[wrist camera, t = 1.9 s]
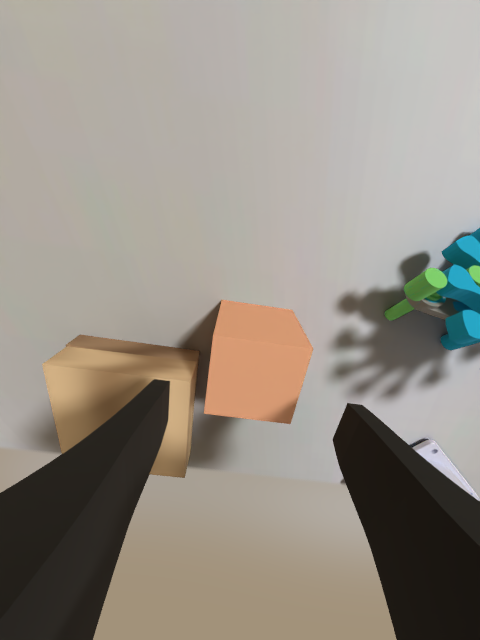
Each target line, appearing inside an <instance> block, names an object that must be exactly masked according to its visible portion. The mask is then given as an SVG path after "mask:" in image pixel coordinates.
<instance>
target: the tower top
mask: <svg viewBox="0 0 480 640" xmlns="http://www.w3.org/2000/svg"><path fill="white" fill-rule="evenodd" d="M42 365H43V370H44V375H45V379H46V384H47V388H48V393H49V397H50V402H51V406H52V411H53V415H54V420H55V425H56V429H57V434H58V438H59V443H60V447H61V452H62V454H63V453H65V452H66V451H67V450H69V449H70V448H72V447H73V446H75V445H76V444H77V443H79V442H80V441H81V440H83V439H84V438H85V437H87V436H88V435H89V434H91V433H92V432H93V431H95V430H96V429H97V428H98V427H100V426H101V425H102V424H103V423H105V422H106V421H107V420H109V419H110V418H111V417H112V416H113V415H115V414H116V413H117V412H118V411H119V410H120V409H121V408H123V407H124V406H125V405H126V404H127V403H128V402H130V401H131V400H132V399H133V398H134V397H135V396H136V395H137V394H138V393H139V392H141V391H142V390H143V389H144V388H145V387H146V386H147V385H148V384H149V383H150V382H151V381H153V380H154V379H158V380H166V381H170V394H169V416H168V423H167V427H166V430H165V434H164V437H163V440H162V444H161V447H160V449H159V452H158V454H157V457H156V459H155V462H154V464H153V466H152V469H151V471H150V474H153V475H162V476H172V477H182V478H184V477H185V474H186V469H187V465H188V461H189V456H190V452H191V438H192V424H193V410H194V396H195V382H196V368H197V362H195V361H187V360H178V359H170V358H161V357H153V356H145V355H136V354H128V353H119V352H111V351H102V350H94V349H86V348H77V347H69V346H67V347H65V348H64V349H63V350H61V351H60V352H59V353H57V354H56V355H54V356H53V357H52V358H50V359H49V360H48V361H46V362H45V363H43V364H42Z"/></svg>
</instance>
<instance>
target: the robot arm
mask: <svg viewBox="0 0 480 640" xmlns="http://www.w3.org/2000/svg"><path fill="white" fill-rule="evenodd" d="M169 394H170V381H166V380H158V379H154V380H153V381H151V382H150V383H149V384H148V385H147V386H146V387H145V388H144V389H143V390H142V391H141V392H139V393H138V394H137V395H136V396H135V397H134V398H133V399H132V400H131V401H130V402H128V403H127V404H126V405H125V406H124V407H123V408H121V409H120V410H119V411H118V412H117V413H116V414H115V415H113V416H112V417H111V418H110V419H109V420H107V421H106V422H105V423H103V424H102V425H101V426H100V427H98V428H97V429H96V430H95V431H93V432H92V433H91V434H89V435H88V436H87V437H85V438H84V439H83V440H81V441H80V442H79V443H77V444H76V445H75V446H73V447H72V448H70V449H69V450H67V451H66V452H65V453H63V454H62V455H60V456H59V457H57V458H56V459H54V460H53V461H51V462H50V463H48V464H47V465H45V466H44V467H42V468H40V469H39V470H37V471H36V472H34V473H32V474H31V475H29V476H28V477H26V478H24V479H23V480H21V481H20V482H18V483H16V484H15V485H13V486H11V487H10V488H8V489H6V490H5V491H3V492H1V493H0V640H93V637H94V634H95V630H96V627H97V624H98V620H99V617H100V614H101V610H102V607H103V604H104V601H105V598H106V594H107V591H108V588H109V585H110V582H111V578H112V575H113V572H114V569H115V566H116V563H117V560H118V557H119V553H120V550H121V547H122V544H123V541H124V538H125V535H126V532H127V529H128V526H129V523H130V521H131V518H132V515H133V513H134V510H135V507H136V505H137V503H138V500H139V498H140V495H141V493H142V491H143V488H144V486H145V483H146V481H147V479H148V476H149V474H150V471H151V469H152V466H153V464H154V462H155V459H156V457H157V454H158V452H159V449H160V447H161V444H162V440H163V437H164V434H165V430H166V427H167V423H168V416H169ZM333 443H334V447H335V452H336V456H337V459H338V463H339V466H340V469H341V472H342V474H343V477H344V480H345V482H346V485H347V488H348V490H349V493H350V495H351V498H352V500H353V503H354V505H355V508H356V510H357V513H358V516H359V518H360V520H361V523H362V526H363V528H364V531H365V534H366V536H367V539H368V542H369V545H370V548H371V551H372V554H373V557H374V561H375V564H376V567H377V571H378V574H379V577H380V581H381V584H382V587H383V591H384V595H385V598H386V602H387V605H388V609H389V613H390V616H391V620H392V623H393V627H394V631H395V635H396V639H397V640H480V501H479V497H478V495H477V494H476V493H475V491H474V490H473V489H472V488H471V486H470V485H469V484H468V483H467V481H466V480H465V479H464V478H463V476H462V475H461V474H460V472H459V471H458V470H457V469H456V467H455V466H454V465H453V464H452V462H451V461H450V460H449V458H448V457H447V456H446V455H445V453H444V452H443V451H442V450H441V448H440V447H439V446H438V445H437V443H436V442H435V441H434V440H426V441H424V442H422V443H420V444H418V445H416V446H414V447H410V446H409V445H408V444H407V443H406V442H405V441H403V440H402V439H401V438H400V437H399V436H398V435H397V434H395V433H394V432H393V431H392V430H391V429H390V428H389V427H388V426H386V425H385V424H384V423H383V422H382V421H381V420H380V419H378V418H377V417H376V416H375V415H374V414H373V413H371V412H370V411H369V410H368V409H366V408H365V407H364V406H363V405H358V404H350V403H347V406H346V408H345V411H344V413H343V416H342V418H341V420H340V423H339V425H338V428H337V430H336V433H335V435H334V437H333Z"/></svg>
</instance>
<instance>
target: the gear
mask: <svg viewBox="0 0 480 640" xmlns="http://www.w3.org/2000/svg"><path fill="white" fill-rule="evenodd" d="M442 254H443V256H444V258H445V259H446V260H448V261H449V262H450V263H452V264H454V265H453V266H451V267H449V268H448V269H446V270H445V271H443V272H441V271H440V270H438V269H435V268H429V269H427V270H426V271H424V272H423V273H421V274H420V275H418V276H417V277H415V278H414V279H413V280H411V281H410V282H408V283H407V284H406V285H405V286H404V292H405V294H406V299H404V300H403V301H401V302H399V303H398V304H396V305H395V306H393V307H391V308H390V309H388V310H386V311H385V317H386V318H387V319H388V320H390V321H393V320H395V319H397V318H399V317H401V316H403V315H404V314H406V313H408V312H410V311H412V310H414V309H416V310H418V311H421V312H424V313H426V314H429V315H432V316H435V317H438V318H441V319H444V320H446V328H447V331H448V334H447V335H444V336H442V337H441V343H442V345H443V346H444V348H446V349H448V350H454V349H458V348H461V347H465V346H469V345H472V344H476V343H479V342H480V228H479V229H477V230H476V231H475V232H473V233H472V234H471V235H470V236H464V237H462V238H460V239H459V240H457V241H456V242H454V243H453V244H451V245H450V246H449V247H447V248H446V249H444V250H443V251H442Z"/></svg>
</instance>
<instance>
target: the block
mask: <svg viewBox="0 0 480 640" xmlns="http://www.w3.org/2000/svg"><path fill="white" fill-rule="evenodd" d="M312 351H313V347H312V346H311V344H310V342H309V340H308V338H307V336H306V334H305V333H304V331H303V329H302V327H301V325H300V323H299V321H298V320H297V318H296V316H295V314H294V312H293V310H289V309H282V308H275V307H268V306H261V305H254V304H247V303H240V302H234V301H227V300H222V301H221V305H220V309H219V313H218V317H217V322H216V326H215V330H214V334H213V341H212V349H211V357H210V366H209V374H208V383H207V391H206V400H205V408H204V414H212V415H220V416H228V417H237V418H245V419H253V420H261V421H270V422H278V423H286V424H291V420H292V417H293V414H294V410H295V407H296V404H297V401H298V397H299V394H300V391H301V388H302V384H303V381H304V378H305V374H306V371H307V368H308V365H309V361H310V358H311V355H312Z"/></svg>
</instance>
